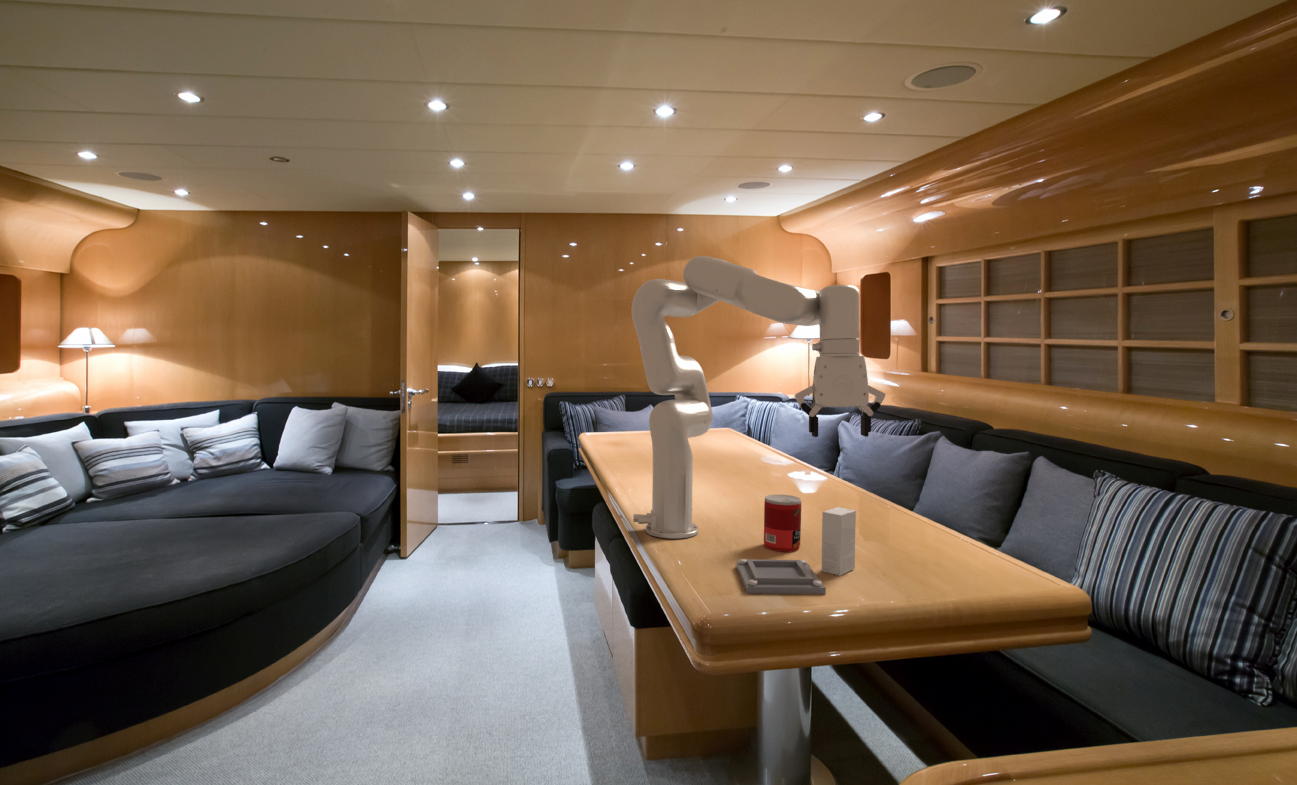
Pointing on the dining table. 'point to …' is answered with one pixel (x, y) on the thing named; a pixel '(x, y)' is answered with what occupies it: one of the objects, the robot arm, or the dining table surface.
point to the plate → (779, 577)
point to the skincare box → (838, 540)
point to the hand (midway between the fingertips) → (839, 436)
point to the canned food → (782, 523)
